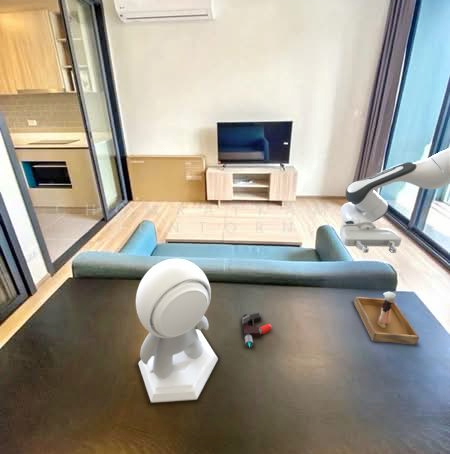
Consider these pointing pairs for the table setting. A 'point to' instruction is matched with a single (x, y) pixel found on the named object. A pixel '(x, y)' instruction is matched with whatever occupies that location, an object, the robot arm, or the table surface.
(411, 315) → the table surface
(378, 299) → the shallow wooden tray
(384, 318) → the grandmother figurine
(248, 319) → the toy gun
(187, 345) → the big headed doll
